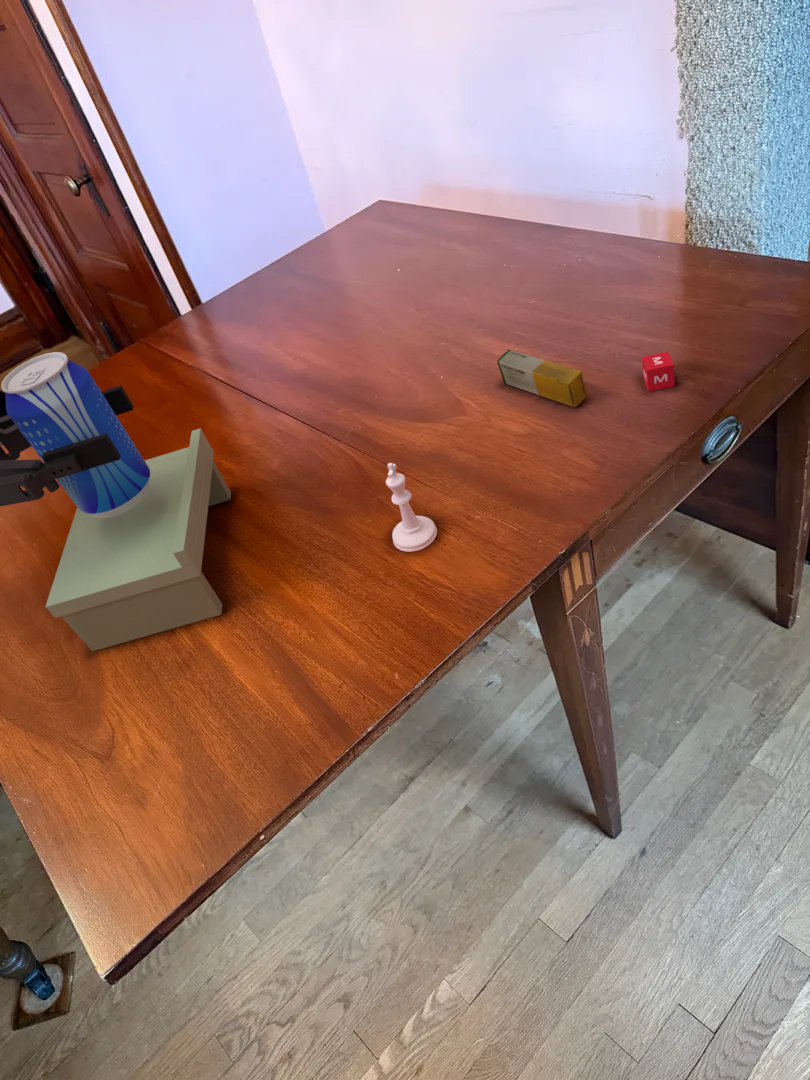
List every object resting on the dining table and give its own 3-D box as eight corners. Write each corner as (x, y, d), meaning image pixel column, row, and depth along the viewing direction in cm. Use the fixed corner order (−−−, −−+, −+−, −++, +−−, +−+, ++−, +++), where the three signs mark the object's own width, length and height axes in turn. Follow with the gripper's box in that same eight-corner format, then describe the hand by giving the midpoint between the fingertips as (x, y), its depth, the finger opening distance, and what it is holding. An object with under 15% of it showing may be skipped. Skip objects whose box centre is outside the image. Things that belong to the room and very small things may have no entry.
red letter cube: (674, 386, 88) (674, 364, 86) (648, 391, 88) (647, 370, 86) (668, 373, 90) (667, 351, 88) (642, 378, 90) (641, 357, 88)
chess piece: (388, 552, 80) (360, 482, 73) (398, 520, 83) (373, 450, 77) (432, 551, 78) (407, 479, 72) (441, 518, 82) (418, 447, 75)
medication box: (502, 385, 97) (494, 360, 95) (516, 372, 98) (508, 347, 95) (575, 409, 89) (568, 382, 86) (589, 395, 90) (583, 368, 87)
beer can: (72, 505, 82) (-20, 383, 72) (136, 462, 85) (57, 339, 75) (102, 533, 77) (7, 406, 66) (169, 486, 80) (89, 357, 69)
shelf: (87, 654, 81) (33, 594, 74) (119, 524, 97) (77, 465, 91) (226, 614, 80) (183, 549, 73) (234, 490, 96) (200, 427, 89)
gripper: (-29, 453, 87) (151, 397, 86) (-96, 580, 72) (123, 514, 70) (-73, 401, 82) (118, 340, 81) (-155, 524, 67) (79, 451, 65)
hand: (120, 421), depth 75 cm, fingers closed on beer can, 8 cm apart
